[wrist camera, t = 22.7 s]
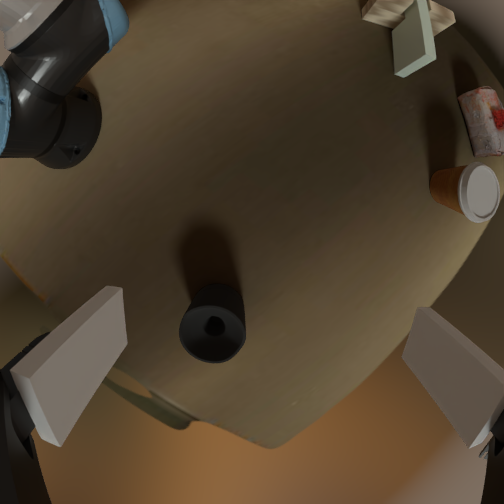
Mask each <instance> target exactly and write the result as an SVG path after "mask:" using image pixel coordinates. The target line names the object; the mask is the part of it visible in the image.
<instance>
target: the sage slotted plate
mask: <svg viewBox="0 0 504 504" xmlns="http://www.w3.org/2000/svg"><path fill="white" fill-rule="evenodd" d="M404 13H405V19H404V20H403V21H402V22H401V23H400V24H399V25H398V26H397V27H396V28H395V29H394V30H393V31H392V41H393V54H394V74H395V75H398V76H401V77H406V76H408V75H409V74H411V73H413V72H414V71H416V70H418V69H419V68H421V67H423V66H425V65H426V64H428V63H430V62H432V61H434V60H435V59H436V53H435V45H434V39H433V32H432V27H431V21H430V16H429V11H428V6H427V2H426V0H414V2H413V3H412V4H411V5H410V6H409V7H408V8H407V9H406V10H405V11H404Z"/></svg>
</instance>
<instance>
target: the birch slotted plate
mask: <svg viewBox="0 0 504 504" xmlns="http://www.w3.org/2000/svg"><path fill="white" fill-rule="evenodd" d="M413 2H414V0H368V2H367V3H366V4H365V6H364V7H363V9H362V19H363V20H367V21H370V22H374V23H377V24H380V25H383V26H386V27H389V28H392V29H395V28H396V27H397V26H398V25H399V24H400V23H401V22H402V21H403V20H404V19H405V13H404V11H405V10H406V9H407V8H408V7H409V6H410V5H411V4H412V3H413ZM427 6H428V11H429V16H430V21H431V27H432V32H433V37H434V36H435V35H436V34H438V33H439V32H441V31H442V30H444V29H446V28H447V27H449V26H450V25H452V24H453V23H455V18H454V13H453V12H452V11H450V10H449V9H447V8H445V7H443V6H441V5H439V4H437V3H435V2H433V1H431V0H428V1H427Z"/></svg>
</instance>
